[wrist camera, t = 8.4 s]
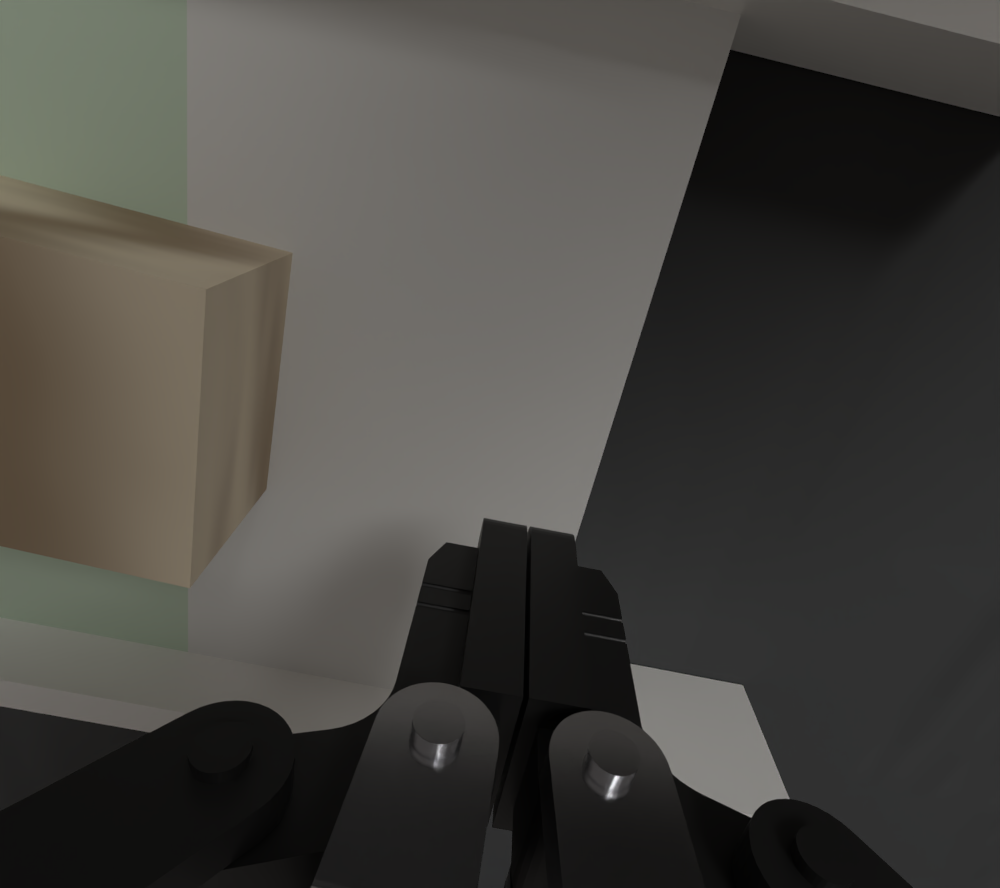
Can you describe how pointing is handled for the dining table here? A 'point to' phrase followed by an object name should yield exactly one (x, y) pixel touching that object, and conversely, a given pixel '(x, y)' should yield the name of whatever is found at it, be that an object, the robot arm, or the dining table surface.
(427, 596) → the robot arm
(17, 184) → the birch block
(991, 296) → the dining table surface
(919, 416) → the dining table surface
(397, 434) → the track
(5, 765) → the dining table surface
